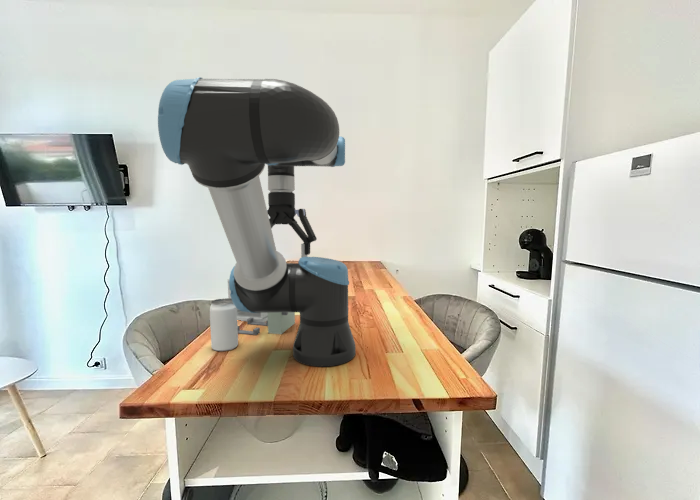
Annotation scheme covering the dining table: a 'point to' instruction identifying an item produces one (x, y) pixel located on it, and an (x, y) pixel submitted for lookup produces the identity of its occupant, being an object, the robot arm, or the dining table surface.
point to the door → (280, 321)
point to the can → (223, 325)
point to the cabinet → (250, 319)
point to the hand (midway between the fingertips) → (282, 265)
